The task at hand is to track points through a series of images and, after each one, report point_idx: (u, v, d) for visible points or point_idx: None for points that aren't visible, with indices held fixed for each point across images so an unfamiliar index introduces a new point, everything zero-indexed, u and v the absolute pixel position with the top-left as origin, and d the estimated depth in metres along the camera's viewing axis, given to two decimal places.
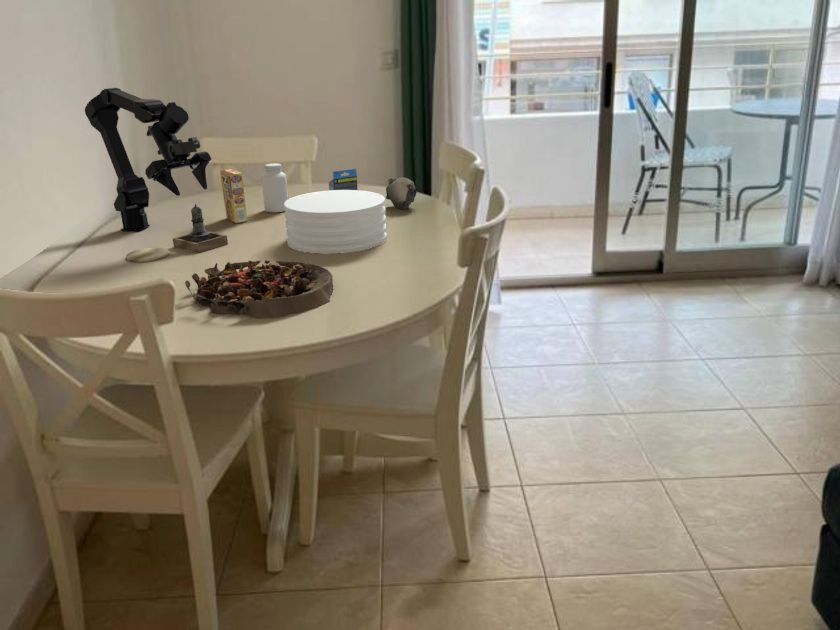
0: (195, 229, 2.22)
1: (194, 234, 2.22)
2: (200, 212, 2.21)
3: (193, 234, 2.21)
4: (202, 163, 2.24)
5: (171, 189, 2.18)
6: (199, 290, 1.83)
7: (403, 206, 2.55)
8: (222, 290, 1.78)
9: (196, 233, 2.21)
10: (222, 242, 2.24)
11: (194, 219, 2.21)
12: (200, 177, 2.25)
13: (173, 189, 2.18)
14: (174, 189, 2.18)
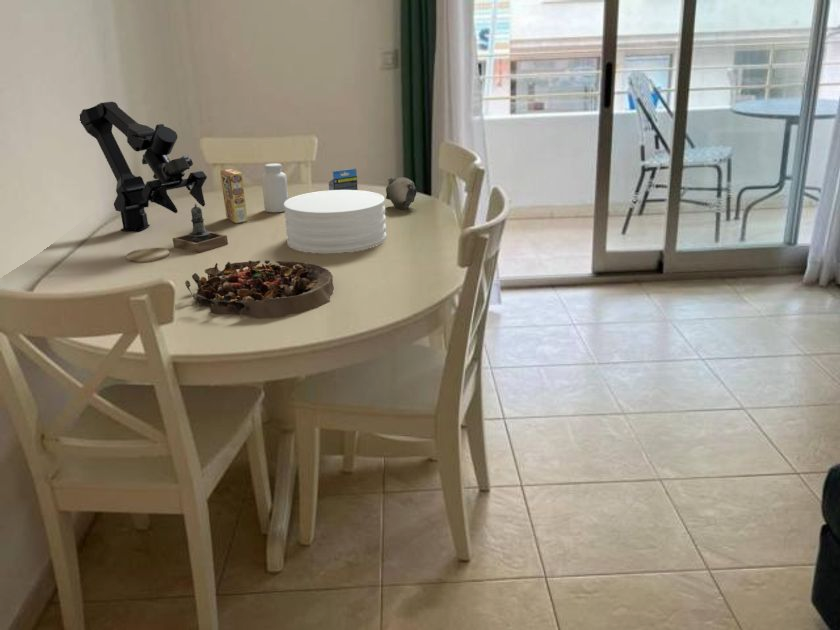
0: (195, 229, 2.22)
1: (194, 234, 2.22)
2: (200, 212, 2.21)
3: (193, 234, 2.21)
4: (197, 181, 2.26)
5: (169, 207, 2.20)
6: (199, 290, 1.83)
7: (403, 206, 2.55)
8: (222, 290, 1.78)
9: (196, 233, 2.21)
10: (222, 242, 2.24)
11: (194, 219, 2.21)
12: (197, 195, 2.27)
13: (170, 207, 2.19)
14: (171, 207, 2.19)
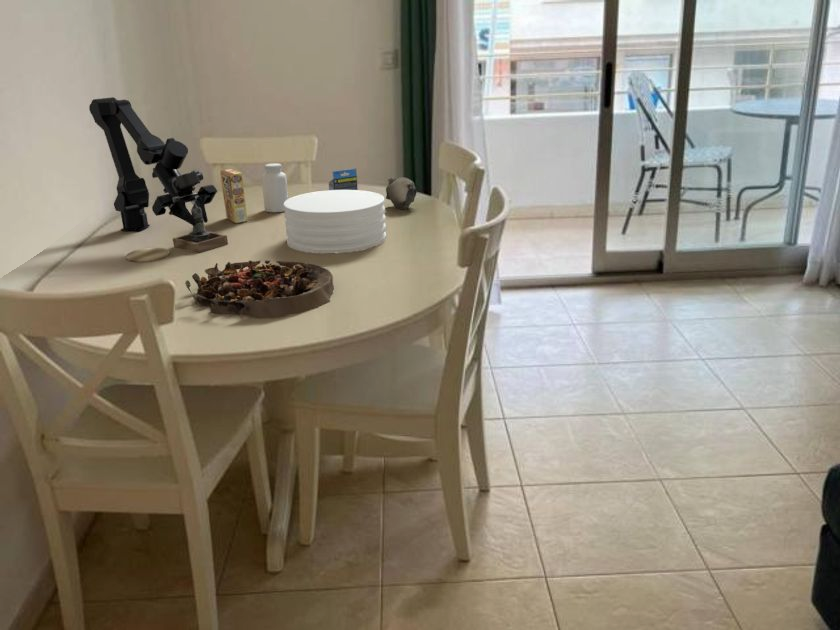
0: (195, 229, 2.22)
1: (194, 233, 2.22)
2: (200, 212, 2.21)
3: (193, 234, 2.21)
4: (200, 197, 2.23)
5: (187, 220, 2.20)
6: (199, 290, 1.83)
7: (403, 206, 2.55)
8: (222, 290, 1.78)
9: (196, 233, 2.21)
10: (222, 242, 2.24)
11: (194, 219, 2.21)
12: None
13: (189, 220, 2.20)
14: (190, 219, 2.20)
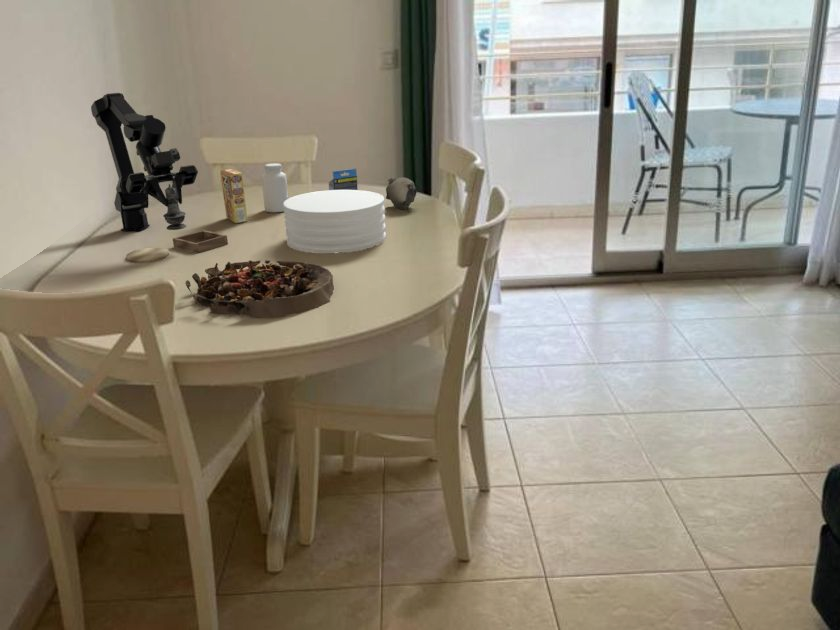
0: (169, 210, 2.15)
1: (167, 215, 2.15)
2: (173, 193, 2.14)
3: (166, 215, 2.15)
4: (177, 177, 2.16)
5: (160, 200, 2.14)
6: (199, 290, 1.83)
7: (403, 206, 2.55)
8: (222, 290, 1.78)
9: (170, 214, 2.15)
10: (222, 242, 2.24)
11: (167, 200, 2.14)
12: (176, 192, 2.17)
13: (162, 200, 2.14)
14: (162, 200, 2.13)
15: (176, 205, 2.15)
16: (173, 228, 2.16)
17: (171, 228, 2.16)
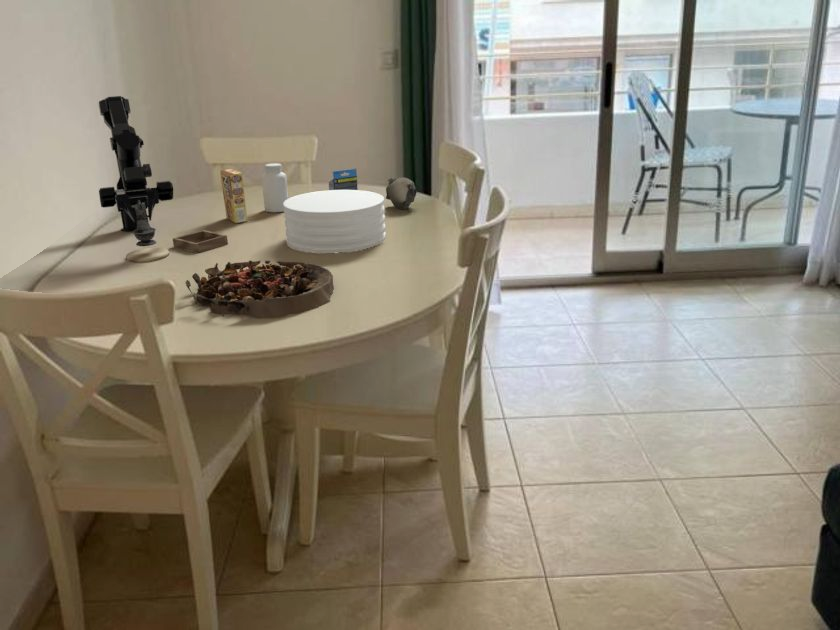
0: (137, 226, 2.12)
1: (135, 231, 2.13)
2: (142, 209, 2.11)
3: (135, 231, 2.12)
4: (148, 193, 2.12)
5: (130, 215, 2.12)
6: (199, 290, 1.83)
7: (403, 206, 2.55)
8: (222, 290, 1.78)
9: (138, 230, 2.12)
10: (222, 242, 2.24)
11: (136, 216, 2.11)
12: None
13: (130, 215, 2.11)
14: (131, 215, 2.11)
15: (144, 221, 2.12)
16: (141, 244, 2.13)
17: (139, 244, 2.13)
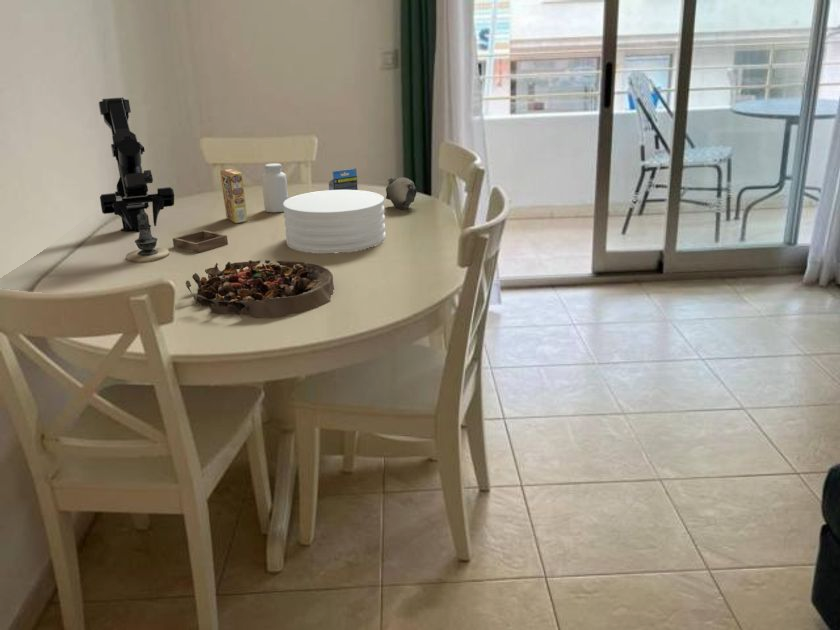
0: (139, 236, 2.13)
1: (137, 240, 2.13)
2: (144, 219, 2.12)
3: (137, 240, 2.13)
4: (153, 198, 2.13)
5: (127, 222, 2.12)
6: (199, 290, 1.83)
7: (403, 206, 2.55)
8: (222, 290, 1.78)
9: (140, 239, 2.13)
10: (222, 242, 2.24)
11: (138, 225, 2.12)
12: (153, 213, 2.14)
13: (127, 222, 2.11)
14: (128, 222, 2.11)
15: (147, 231, 2.13)
16: (142, 254, 2.14)
17: (141, 254, 2.14)
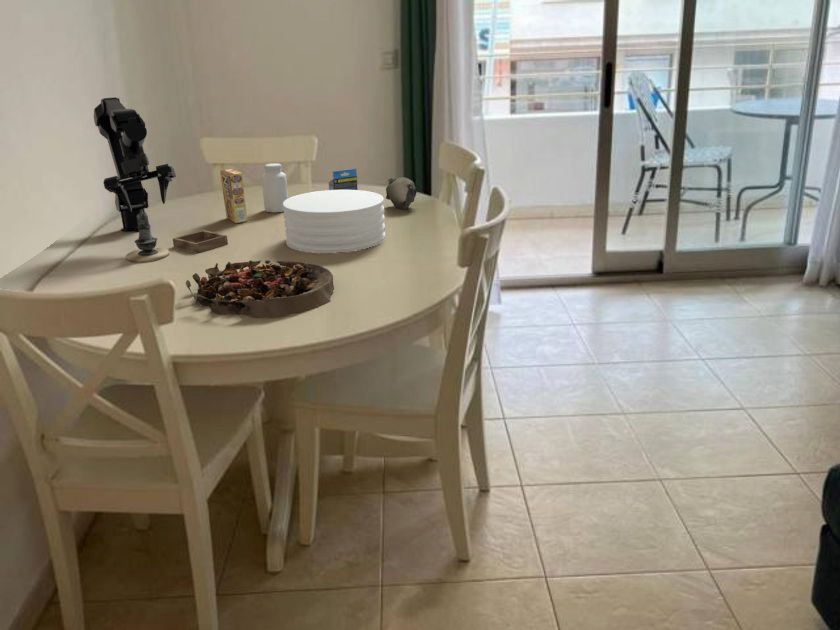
0: (139, 236, 2.13)
1: (137, 240, 2.13)
2: (144, 219, 2.12)
3: (137, 240, 2.13)
4: (158, 178, 2.21)
5: None
6: (200, 290, 1.83)
7: (403, 206, 2.55)
8: (223, 290, 1.78)
9: (140, 239, 2.13)
10: (222, 242, 2.24)
11: (138, 225, 2.12)
12: None
13: (126, 205, 2.22)
14: (126, 205, 2.22)
15: (146, 231, 2.13)
16: (142, 254, 2.14)
17: (141, 254, 2.14)
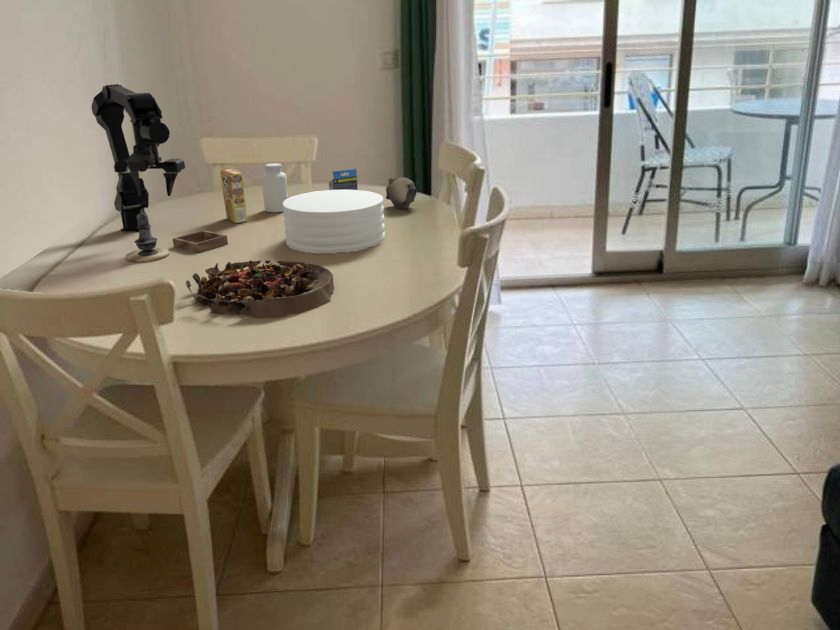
0: (139, 236, 2.13)
1: (137, 240, 2.13)
2: (144, 219, 2.12)
3: (137, 241, 2.13)
4: (164, 174, 2.21)
5: None
6: (200, 290, 1.83)
7: (403, 206, 2.55)
8: (223, 290, 1.78)
9: (140, 240, 2.13)
10: (222, 242, 2.24)
11: (138, 225, 2.12)
12: None
13: None
14: None
15: (146, 231, 2.13)
16: (142, 254, 2.14)
17: (141, 254, 2.14)
